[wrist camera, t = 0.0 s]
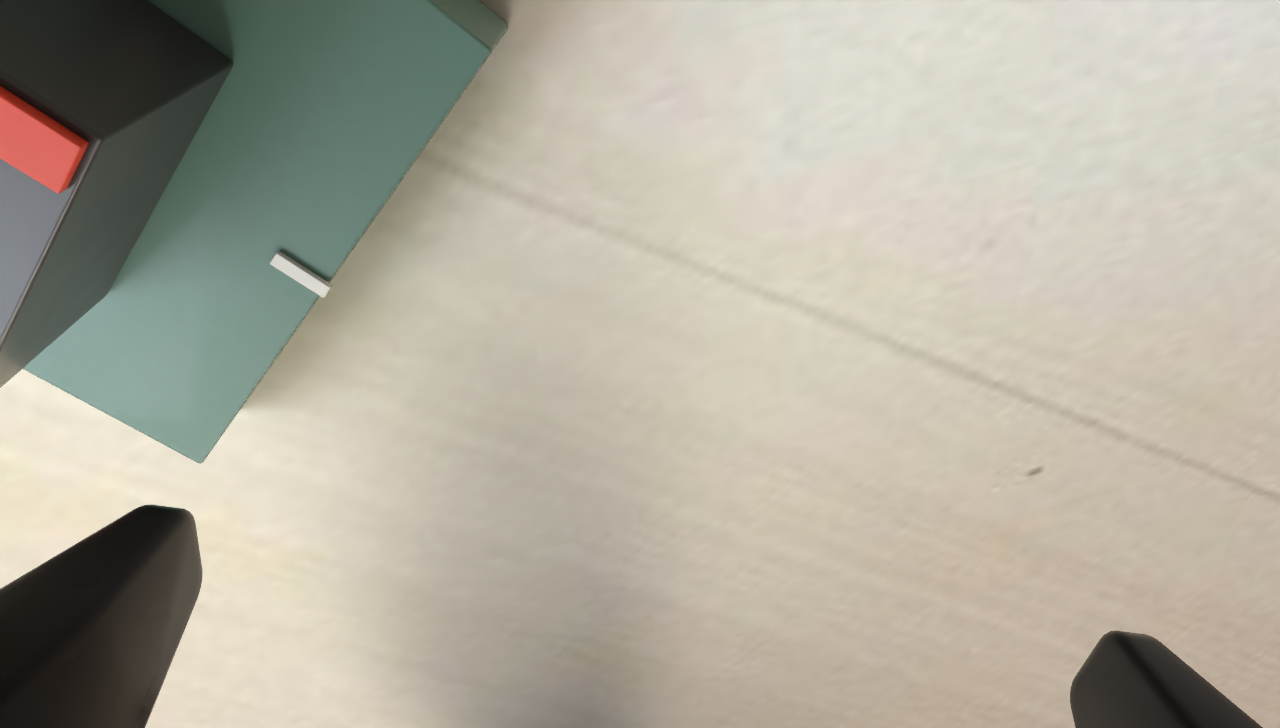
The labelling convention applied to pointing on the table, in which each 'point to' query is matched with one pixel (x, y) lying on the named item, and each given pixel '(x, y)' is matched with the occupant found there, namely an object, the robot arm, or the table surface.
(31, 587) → the robot arm
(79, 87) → the block
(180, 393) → the green flat block
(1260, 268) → the table surface
